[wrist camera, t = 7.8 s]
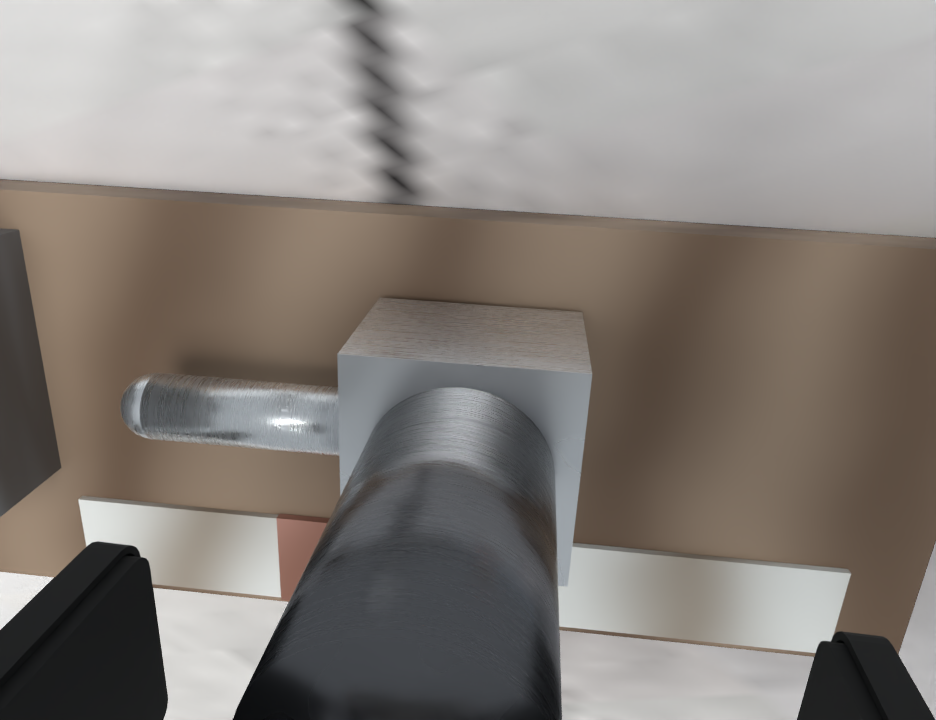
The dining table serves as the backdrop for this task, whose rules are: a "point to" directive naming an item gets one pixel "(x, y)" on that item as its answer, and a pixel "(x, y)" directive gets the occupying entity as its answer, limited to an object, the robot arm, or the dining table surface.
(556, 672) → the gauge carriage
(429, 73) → the dining table surface
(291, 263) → the gauge base
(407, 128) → the dining table surface
